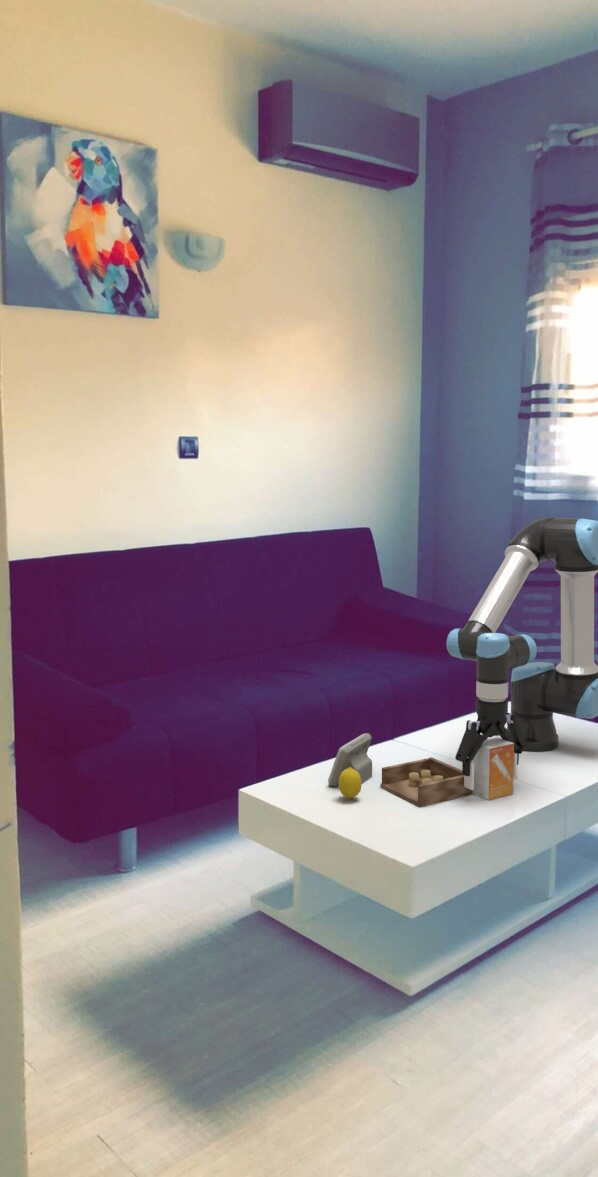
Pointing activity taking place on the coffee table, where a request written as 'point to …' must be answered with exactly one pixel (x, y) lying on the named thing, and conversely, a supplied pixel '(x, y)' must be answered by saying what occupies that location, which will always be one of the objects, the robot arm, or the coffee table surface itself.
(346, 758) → the digital clock
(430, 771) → the peg frame
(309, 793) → the coffee table surface
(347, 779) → the lemon
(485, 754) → the small box
